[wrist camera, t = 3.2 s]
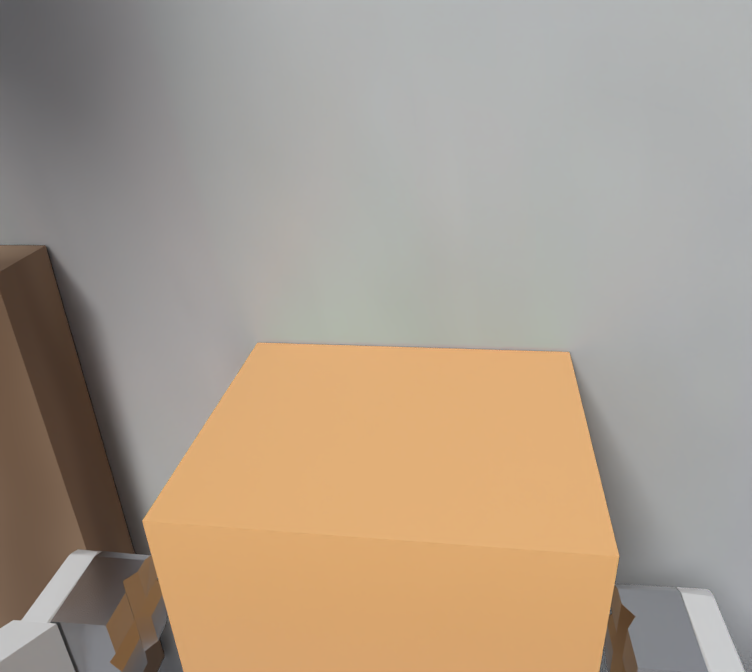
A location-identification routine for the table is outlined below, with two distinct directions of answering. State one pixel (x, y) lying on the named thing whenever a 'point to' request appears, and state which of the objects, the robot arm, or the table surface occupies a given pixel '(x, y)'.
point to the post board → (47, 443)
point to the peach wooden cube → (389, 517)
